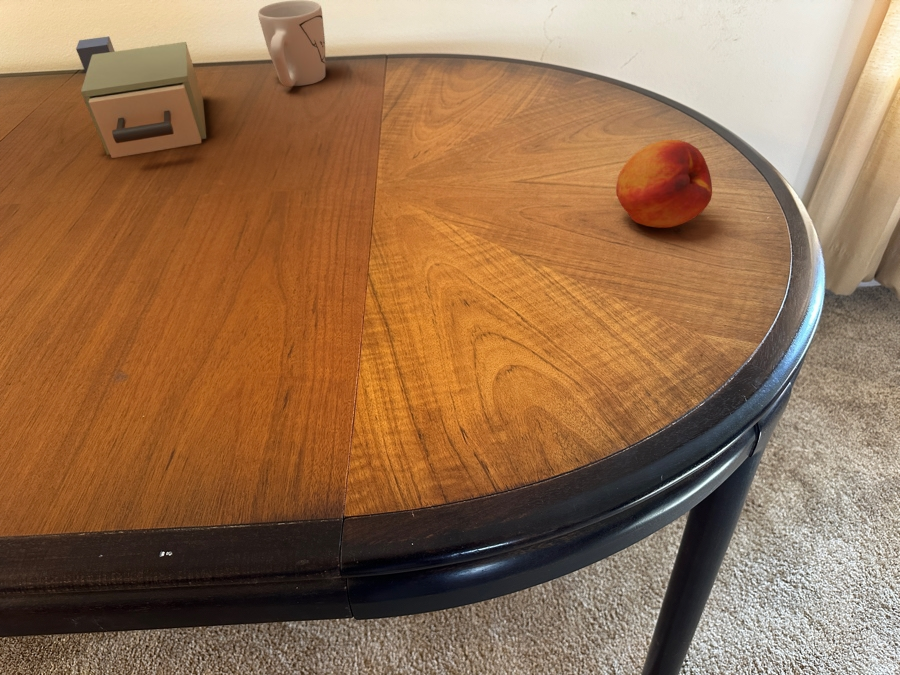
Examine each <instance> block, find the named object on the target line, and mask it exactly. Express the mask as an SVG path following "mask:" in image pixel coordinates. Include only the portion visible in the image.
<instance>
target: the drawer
mask: <svg viewBox="0 0 900 675" xmlns="http://www.w3.org/2000/svg"><path fill="white" fill-rule="evenodd" d="M89 104H90V107H91V109H92V112H93V114H94V116H95V119H96V121H97V124H98V126H99V129H100V131H101V133H102V136H103V138H104V141H105V143H106V145H107V148H108V150H109V153H110V154H109V155H110V157H111V159H115V158H122V157H127V156H134V155H139V154H145V153H152V152H159V151H163V150H164V151H165V150H169V149H175V148H180V147H187V146H193V145H199V144H202V139H201V137H200V134H199V131H198V127H197V124H196V121H195V118H194V115H193V111H192V108H191V105H190V102H189V99H188V95H187V92H186V89H185V86H184V85H183V83H177V84H171V85H164V86H157V87H150V88H144V89H137V90H130V91H124V92H117V93H110V94H103V95H97V97H96V98H90V99H89Z"/></svg>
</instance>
